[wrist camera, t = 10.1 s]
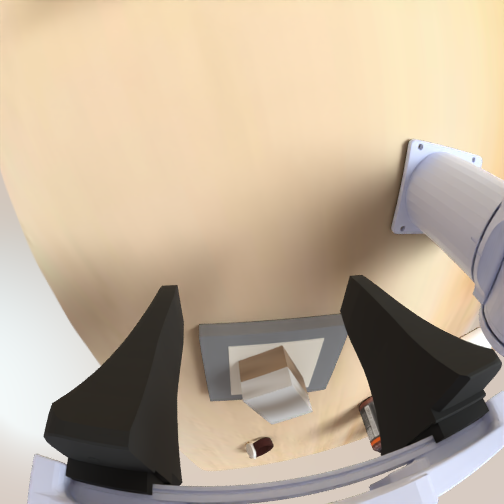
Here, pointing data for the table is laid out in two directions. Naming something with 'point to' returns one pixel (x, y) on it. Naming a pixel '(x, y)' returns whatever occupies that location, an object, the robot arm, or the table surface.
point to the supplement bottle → (371, 423)
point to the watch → (259, 447)
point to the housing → (274, 386)
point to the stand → (266, 338)
